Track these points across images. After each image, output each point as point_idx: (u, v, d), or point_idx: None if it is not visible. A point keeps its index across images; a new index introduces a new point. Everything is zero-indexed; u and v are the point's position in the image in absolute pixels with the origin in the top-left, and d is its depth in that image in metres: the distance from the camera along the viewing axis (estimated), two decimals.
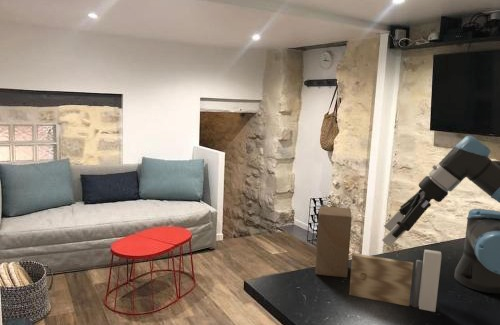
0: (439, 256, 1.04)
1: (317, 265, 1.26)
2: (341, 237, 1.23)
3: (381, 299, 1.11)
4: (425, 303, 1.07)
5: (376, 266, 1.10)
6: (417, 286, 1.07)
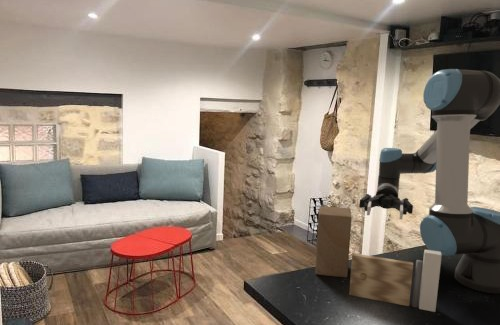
0: (439, 256, 1.04)
1: (317, 265, 1.26)
2: (341, 237, 1.23)
3: (381, 299, 1.11)
4: (425, 303, 1.07)
5: (376, 266, 1.10)
6: (417, 286, 1.07)
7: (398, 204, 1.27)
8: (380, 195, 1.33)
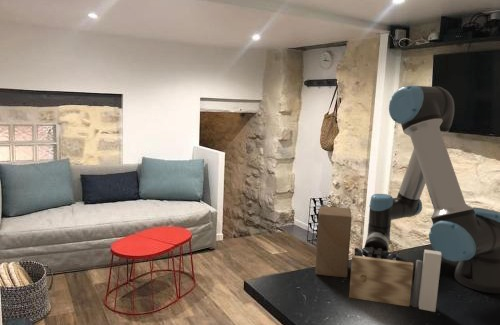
0: (439, 256, 1.04)
1: (317, 265, 1.26)
2: (341, 237, 1.23)
3: (381, 300, 1.10)
4: (425, 303, 1.07)
5: (376, 267, 1.09)
6: (417, 286, 1.07)
7: None
8: (370, 249, 1.27)
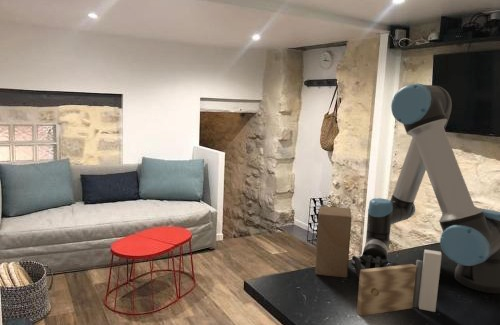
0: (439, 256, 1.04)
1: (317, 265, 1.26)
2: (341, 237, 1.23)
3: (389, 309, 1.06)
4: (425, 303, 1.07)
5: (385, 277, 1.04)
6: (417, 286, 1.07)
7: None
8: (369, 258, 1.20)
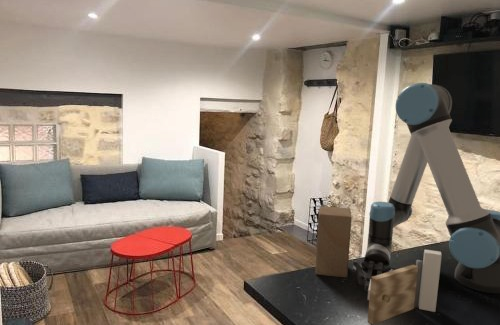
0: (439, 256, 1.04)
1: (317, 265, 1.26)
2: (341, 237, 1.23)
3: (396, 314, 1.04)
4: (425, 303, 1.07)
5: (393, 282, 1.01)
6: (417, 286, 1.07)
7: None
8: (370, 264, 1.16)
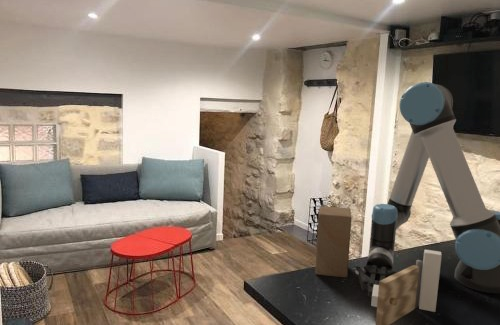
0: (439, 256, 1.04)
1: (317, 265, 1.26)
2: (341, 237, 1.23)
3: (400, 316, 1.03)
4: (425, 303, 1.07)
5: (399, 284, 1.00)
6: (417, 286, 1.07)
7: None
8: (373, 268, 1.13)
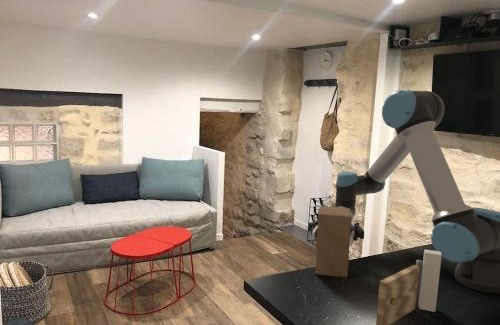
0: (439, 256, 1.04)
1: (317, 265, 1.26)
2: (341, 237, 1.23)
3: (400, 316, 1.03)
4: (425, 303, 1.07)
5: (399, 284, 1.00)
6: (417, 286, 1.07)
7: None
8: None
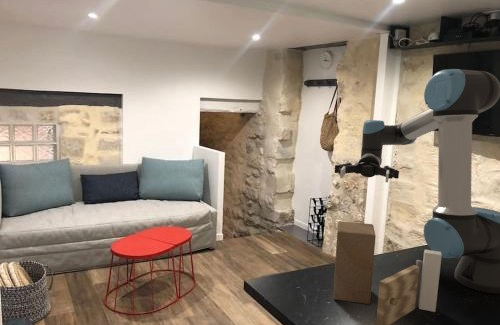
0: (439, 256, 1.04)
1: (335, 289, 1.11)
2: (363, 258, 1.07)
3: (400, 316, 1.03)
4: (425, 303, 1.07)
5: (399, 284, 1.00)
6: (417, 286, 1.07)
7: (383, 170, 1.30)
8: (360, 163, 1.36)
